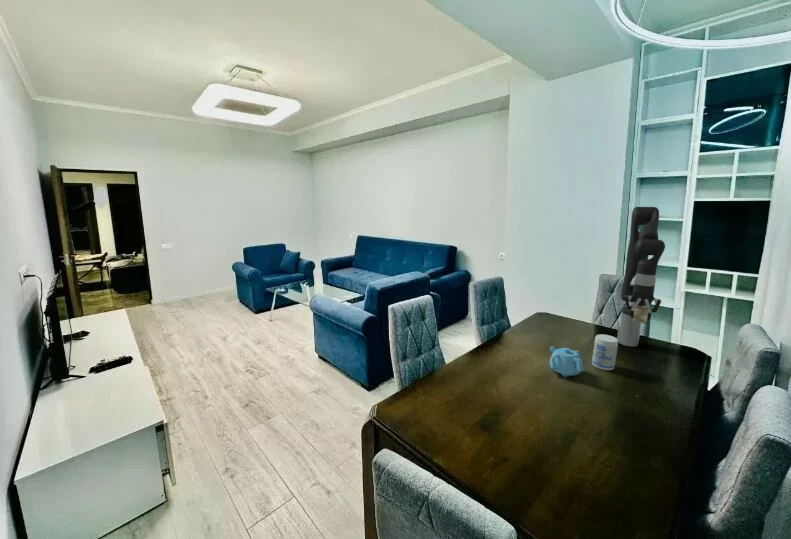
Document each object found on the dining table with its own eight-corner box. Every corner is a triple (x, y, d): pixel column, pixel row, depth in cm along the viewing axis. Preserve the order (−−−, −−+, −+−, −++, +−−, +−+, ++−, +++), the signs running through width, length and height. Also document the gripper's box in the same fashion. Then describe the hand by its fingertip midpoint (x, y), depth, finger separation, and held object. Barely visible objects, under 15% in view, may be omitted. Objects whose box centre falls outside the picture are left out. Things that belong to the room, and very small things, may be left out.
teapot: (595, 379, 155) (598, 354, 153) (565, 385, 151) (567, 360, 148) (562, 359, 174) (564, 337, 172) (534, 364, 170) (536, 342, 167)
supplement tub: (593, 369, 164) (596, 340, 161) (590, 360, 173) (593, 333, 170) (617, 372, 161) (620, 343, 158) (612, 363, 170) (615, 335, 167)
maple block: (633, 321, 159) (634, 308, 157) (632, 317, 163) (634, 305, 162) (646, 323, 156) (648, 310, 155) (645, 319, 160) (647, 307, 159)
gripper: (626, 283, 156) (621, 318, 160) (665, 287, 149) (659, 324, 153) (625, 279, 163) (621, 314, 166) (663, 283, 155) (658, 319, 159)
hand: (639, 318), depth 159 cm, fingers closed on maple block, 5 cm apart
